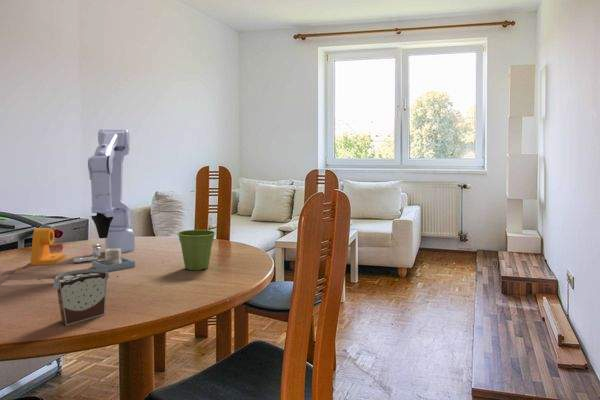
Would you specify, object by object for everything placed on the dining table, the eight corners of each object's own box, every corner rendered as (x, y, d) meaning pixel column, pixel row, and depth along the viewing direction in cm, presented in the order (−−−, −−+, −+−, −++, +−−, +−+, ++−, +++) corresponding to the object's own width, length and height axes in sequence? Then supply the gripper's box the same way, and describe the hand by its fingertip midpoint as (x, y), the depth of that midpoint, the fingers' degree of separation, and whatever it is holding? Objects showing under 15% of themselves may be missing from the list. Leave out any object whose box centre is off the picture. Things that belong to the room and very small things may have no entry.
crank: (75, 263, 164) (74, 248, 164) (71, 261, 166) (70, 246, 166) (104, 258, 170) (103, 244, 170) (100, 257, 173) (99, 243, 172)
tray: (121, 266, 166) (120, 256, 166) (135, 270, 160) (134, 261, 160) (92, 270, 160) (92, 261, 160) (106, 275, 154) (105, 265, 153)
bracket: (55, 268, 164) (53, 230, 163) (31, 269, 163) (29, 231, 162) (66, 261, 174) (65, 225, 173) (43, 261, 174) (42, 225, 172)
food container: (94, 308, 122) (92, 265, 121) (110, 312, 119) (109, 269, 118) (43, 322, 112) (40, 276, 111) (59, 327, 109) (57, 280, 108)
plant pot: (183, 274, 156) (182, 236, 154) (173, 266, 166) (172, 231, 165) (221, 269, 161) (221, 233, 160) (209, 262, 171) (208, 228, 170)
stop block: (105, 270, 158) (104, 251, 157) (108, 267, 161) (107, 248, 161) (119, 270, 158) (118, 250, 158) (121, 267, 162) (121, 248, 162)
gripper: (122, 195, 159) (124, 239, 161) (106, 192, 170) (108, 233, 172) (99, 196, 155) (101, 242, 156) (84, 193, 166) (85, 235, 167)
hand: (103, 237), depth 164 cm, fingers closed
